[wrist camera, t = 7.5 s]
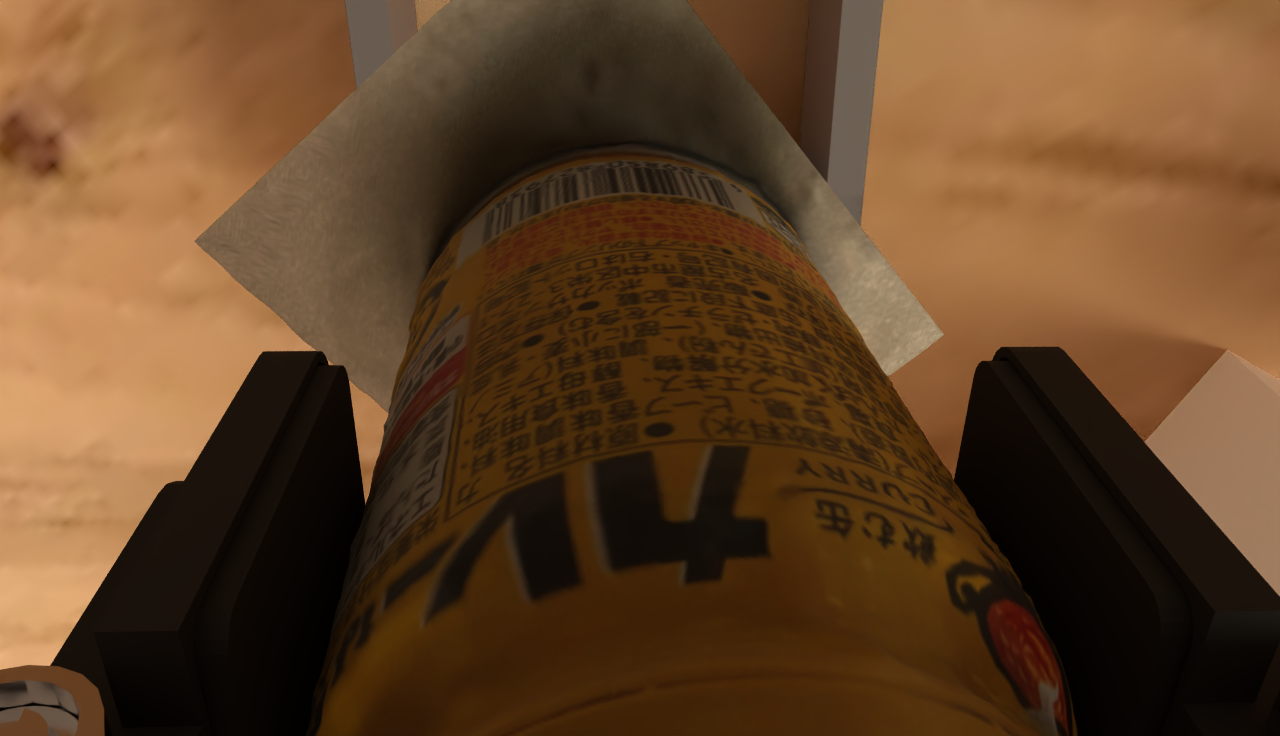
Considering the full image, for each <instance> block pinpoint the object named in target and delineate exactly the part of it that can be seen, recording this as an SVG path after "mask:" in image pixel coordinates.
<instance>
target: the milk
mask: <svg viewBox="0 0 1280 736" xmlns="http://www.w3.org/2000/svg"><path fill="white" fill-rule="evenodd" d="M1145 444H1146V445H1147V446H1148V447H1149V448H1150V449H1151V450H1152V452H1153V453H1154V454H1155V455H1156V456H1157V457H1158V458H1159V460H1160V461H1161V462H1162V463H1163V464H1164V465H1165V466H1166V467H1167V469H1168V470H1169V471H1170V472H1171V473H1172V474H1173V475H1174V477H1175V478H1176V479H1177V480H1178V481H1179V482H1180V483H1181V485H1182V486H1183V487H1184V488H1185V489H1186V490H1187V491H1188V493H1189V494H1190V495H1191V496H1192V497H1193V498H1194V499H1195V501H1196V502H1197V503H1198V504H1199V505H1200V506H1201V507H1202V508H1203V510H1204V511H1205V512H1206V513H1207V514H1208V515H1209V516H1210V518H1211V519H1212V520H1213V521H1214V522H1215V523H1216V524H1217V526H1218V527H1219V528H1220V529H1221V530H1222V531H1223V532H1224V534H1225V535H1226V536H1227V537H1228V538H1229V539H1230V540H1231V542H1232V543H1233V544H1234V545H1235V546H1236V547H1237V548H1238V549H1239V551H1240V552H1241V553H1242V554H1243V555H1244V556H1245V557H1246V559H1247V560H1248V561H1249V562H1250V563H1251V564H1252V565H1253V567H1254V568H1255V569H1256V570H1257V571H1258V572H1259V573H1260V575H1261V576H1262V577H1263V578H1264V579H1265V580H1266V581H1267V583H1268V584H1269V585H1270V586H1271V587H1272V588H1273V589H1274V590H1275V592H1276V593H1277V594H1278V595H1279V596H1280V379H1278V378H1276V377H1275V376H1273V375H1271V374H1269V373H1268V372H1266V371H1264V370H1262V369H1261V368H1259V367H1257V366H1255V365H1254V364H1252V363H1250V362H1248V361H1247V360H1245V359H1243V358H1241V357H1240V356H1238V355H1236V354H1234V353H1233V352H1231V351H1229V350H1226V351H1225V353H1224V354H1223V355H1222V356H1221V357H1220V358H1219V359H1218V360H1217V361H1216V363H1215V364H1214V365H1213V366H1212V367H1211V368H1210V369H1209V370H1208V371H1207V373H1206V374H1205V375H1204V376H1203V377H1202V378H1201V379H1200V380H1199V382H1198V383H1197V384H1196V385H1195V386H1194V387H1193V388H1192V389H1191V390H1190V392H1189V393H1188V394H1187V395H1186V396H1185V397H1184V398H1183V399H1182V401H1181V402H1180V403H1179V404H1178V405H1177V406H1176V407H1175V408H1174V409H1173V411H1172V412H1171V413H1170V414H1169V415H1168V416H1167V417H1166V418H1165V419H1164V421H1163V422H1162V423H1161V424H1160V425H1159V426H1158V427H1157V428H1156V430H1155V431H1154V432H1153V433H1152V434H1151V435H1150V436H1149V437H1148V438H1147V440H1146V441H1145Z"/></svg>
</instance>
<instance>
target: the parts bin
mask: <svg viewBox="0 0 1280 736" xmlns="http://www.w3.org/2000/svg"><path fill="white" fill-rule="evenodd" d="M345 5H346V12H347V20H348V28H349V35H350V43H351V51H352V58H353V66H354V73H355V81H356V89H357V88H358V87H359V86H360V85H361V84H362V83H363V82H364V81H365V80H366V79H367V78H368V77H369V76H371V75H372V74H373V73H374V72H375V71H376V70H377V69H378V68H379V67H380V66H381V65H382V64H383V63H384V62H385V61H387V60H388V59H389V58H390V57H391V56H392V55H393V54H394V53H395V52H396V51H397V50H398V49H399V48H400V47H401V46H402V45H404V44H405V43H406V42H407V41H408V40H409V39H410V38H412V37H413V36H414V35H415V34H416V33H417V32H418V31H417V21H416V11H415V2H414V0H345ZM882 8H883V0H810V7H809V21H808V35H807V49H806V64H805V78H804V92H803V106H802V121H801V135H800V149H801V150H802V151H803V153H804V154H805V155H806V157H807V158H808V159H809V160H810V162H811V163H812V164H813V166H814V167H815V168H816V169H817V171H818V172H819V173H820V175H821V176H822V177H823V179H824V180H825V181H826V182H827V184H828V185H829V186H830V187H831V189H832V190H833V191H834V193H835V194H836V195H837V197H838V198H839V199H840V201H841V202H842V203H843V205H844V206H845V207H846V208H847V210H848V211H849V212H850V214H851V215H852V216H853V217H854V219H855V220H856V221H857V223H858V224H859V225H860V223H861V214H862V204H863V194H864V184H865V174H866V165H867V155H868V145H869V135H870V125H871V116H872V106H873V96H874V86H875V76H876V67H877V57H878V47H879V37H880V27H881V18H882Z"/></svg>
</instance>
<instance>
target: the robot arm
mask: <svg viewBox="0 0 1280 736" xmlns="http://www.w3.org/2000/svg"><path fill="white" fill-rule="evenodd" d="M954 482H955V484H956V485H957V486H958V487H959V489H960V490H961V492H962V493H963V494H964V495H965V497H966V498H967V501H968V503H969V504H970V505H971V506H972V507H973V509H974V510H975V513H976V515H977V517H978V519H979V520H980V521H981V522H982V523H983V525H984V526H985V527H986V530H987V531H988V533H989V534H990V537H991V540H992V541H993V542H994V543H995V544H997V545H998V548H999V551H1000V552H1001V553H1002V554H1003V555H1004V556H1005V557H1006V558H1007V559H1008V561H1009V563H1010V565H1011V567H1012V569H1013V571H1014V572H1015V574H1016V575H1017V577H1018V578H1019V580H1020V581H1021V585H1022V589H1023V590H1024V591H1025V592H1026V593H1027V594H1028V595H1029V596H1030V597H1031V599H1032V602H1033V604H1034V607H1035V609H1036V611H1037V613H1038V615H1039V617H1040V620H1041V622H1042V625H1043V627H1044V629H1045V631H1046V632H1047V634H1048V635H1049V637H1050V639H1051V640H1052V642H1053V644H1054V645H1055V648H1056V650H1057V652H1058V654H1059V656H1060V659H1061V661H1062V664H1063V667H1064V671H1065V674H1066V678H1067V681H1068V684H1069V689H1070V694H1071V699H1072V704H1073V712H1074V717H1075V722H1076V727H1077V736H1280V596H1279V595H1278V594H1277V593H1276V592H1275V590H1274V589H1273V588H1272V587H1271V586H1270V585H1269V584H1268V583H1267V581H1266V580H1265V579H1264V578H1263V577H1262V576H1261V575H1260V573H1259V572H1258V571H1257V570H1256V569H1255V568H1254V567H1253V565H1252V564H1251V563H1250V562H1249V561H1248V560H1247V559H1246V557H1245V556H1244V555H1243V554H1242V553H1241V552H1240V551H1239V549H1238V548H1237V547H1236V546H1235V545H1234V544H1233V543H1232V542H1231V540H1230V539H1229V538H1228V537H1227V536H1226V535H1225V534H1224V532H1223V531H1222V530H1221V529H1220V528H1219V527H1218V526H1217V524H1216V523H1215V522H1214V521H1213V520H1212V519H1211V518H1210V516H1209V515H1208V514H1207V513H1206V512H1205V511H1204V510H1203V508H1202V507H1201V506H1200V505H1199V504H1198V503H1197V502H1196V501H1195V499H1194V498H1193V497H1192V496H1191V495H1190V494H1189V493H1188V491H1187V490H1186V489H1185V488H1184V487H1183V486H1182V485H1181V483H1180V482H1179V481H1178V480H1177V479H1176V478H1175V477H1174V475H1173V474H1172V473H1171V472H1170V471H1169V470H1168V469H1167V467H1166V466H1165V465H1164V464H1163V463H1162V462H1161V461H1160V460H1159V458H1158V457H1157V456H1156V455H1155V454H1154V453H1153V452H1152V450H1151V449H1150V448H1149V447H1148V446H1147V445H1146V444H1145V442H1144V441H1143V440H1142V439H1141V438H1140V437H1139V436H1138V434H1137V433H1136V432H1135V431H1134V430H1133V429H1132V428H1131V426H1130V425H1129V424H1128V423H1127V422H1126V421H1125V420H1124V419H1123V417H1122V416H1121V415H1120V414H1119V413H1118V412H1117V411H1116V409H1115V408H1114V407H1113V406H1112V405H1111V404H1110V403H1109V401H1108V400H1107V399H1106V398H1105V397H1104V396H1103V395H1102V393H1101V392H1100V391H1099V390H1098V389H1097V388H1096V387H1095V385H1094V384H1093V383H1092V382H1091V381H1090V380H1089V379H1088V378H1087V376H1086V375H1085V374H1084V373H1083V372H1082V371H1081V370H1080V368H1079V367H1078V366H1077V365H1076V364H1075V363H1074V362H1073V360H1072V359H1071V358H1070V357H1069V356H1068V355H1067V354H1066V352H1065V351H1064V350H1062V349H1061V348H1059V347H1001V348H1000V349H999V350H997V352H996V353H995V355H994V357H993V360H992V361H982V362H980V363H979V364H978V366H977V368H976V370H975V374H974V378H973V383H972V389H971V394H970V399H969V404H968V410H967V415H966V420H965V425H964V431H963V436H962V441H961V446H960V452H959V457H958V462H957V467H956V473H955V478H954ZM364 509H365V498H364V491H363V483H362V476H361V468H360V461H359V453H358V446H357V438H356V431H355V423H354V416H353V408H352V400H351V393H350V385H349V379H348V374H347V371H346V368H345V367H344V366H343V365H329V364H328V361H327V358H326V356H325V354H324V353H323V352H322V351H267V352H262V354H261V355H260V356H259V357H258V359H257V361H256V362H255V364H254V366H253V367H252V369H251V371H250V372H249V374H248V376H247V377H246V379H245V381H244V382H243V384H242V386H241V387H240V389H239V391H238V392H237V394H236V396H235V397H234V399H233V400H232V402H231V404H230V405H229V407H228V409H227V410H226V412H225V414H224V415H223V417H222V419H221V420H220V422H219V424H218V425H217V427H216V429H215V430H214V432H213V434H212V435H211V437H210V439H209V440H208V442H207V444H206V445H205V447H204V449H203V450H202V452H201V454H200V455H199V457H198V459H197V460H196V462H195V464H194V465H193V467H192V469H191V470H190V472H189V474H188V475H187V477H186V479H185V480H184V481H174V482H171V483H168V484H166V485H165V486H164V488H163V489H162V490H161V491H160V492H159V493H158V495H157V496H156V498H155V500H154V501H153V503H152V504H151V506H150V508H149V509H148V511H147V512H146V514H145V516H144V517H143V519H142V520H141V522H140V523H139V525H138V527H137V528H136V530H135V531H134V533H133V535H132V536H131V538H130V539H129V541H128V543H127V544H126V546H125V547H124V549H123V551H122V552H121V554H120V555H119V557H118V559H117V560H116V562H115V563H114V565H113V567H112V568H111V570H110V571H109V573H108V574H107V576H106V578H105V579H104V581H103V582H102V584H101V586H100V587H99V589H98V590H97V592H96V594H95V595H94V597H93V598H92V600H91V602H90V603H89V605H88V606H87V608H86V610H85V611H84V613H83V614H82V616H81V618H80V619H79V621H78V622H77V624H76V626H75V627H74V629H73V630H72V632H71V633H70V635H69V637H68V638H67V640H66V641H65V643H64V645H63V646H62V648H61V649H60V651H59V653H58V654H57V656H56V657H55V659H54V661H53V662H52V664H51V665H50V666H37V665H26V666H20V667H14V668H8V669H2V670H0V736H306V733H307V730H308V727H309V723H310V718H311V710H312V700H313V693H314V690H315V687H316V685H317V682H318V679H319V677H320V675H321V670H322V667H323V663H324V660H325V656H326V652H327V649H328V645H329V642H330V634H331V628H332V624H333V620H334V616H335V612H336V609H337V605H338V602H339V600H340V597H341V592H342V587H343V582H344V578H345V574H346V571H347V567H348V564H349V557H350V546H351V544H352V542H353V540H354V538H355V536H356V533H357V531H358V529H359V527H360V524H361V521H362V517H363V512H364Z"/></svg>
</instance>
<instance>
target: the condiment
mask: <svg viewBox="0 0 1280 736" xmlns="http://www.w3.org/2000/svg"><path fill="white" fill-rule="evenodd" d="M195 242H196V243H197V244H198V245H199V246H200V247H201V248H202V249H203V250H204V251H205V252H206V253H208V254H209V255H210V256H211V257H212V258H213V259H215V260H216V261H217V262H218V263H219V264H220V265H221V266H223V267H224V268H225V270H226V271H227V272H228V273H229V274H230V275H231V276H232V277H233V278H234V279H235V280H236V281H238V282H239V283H240V284H241V285H242V286H243V287H244V288H246V289H247V290H248V291H249V292H250V293H252V294H253V295H254V296H255V297H257V298H258V299H259V300H260V301H262V302H263V303H264V304H266V305H267V306H268V307H270V308H271V309H272V310H273V311H274V312H275V313H276V314H277V315H278V316H279V317H281V318H282V319H283V320H284V321H285V322H286V323H287V325H288V326H289V327H290V328H291V329H292V330H293V331H294V332H295V333H296V334H297V335H298V336H299V337H300V338H301V339H303V340H304V341H305V342H306V343H307V344H309V345H310V346H311V347H313V348H314V349H316V350H317V351H322V352H323V353H324V354H325V356H326V358H327V359H328V360H329V361H330V362H332V363H333V364H334V365H343V366H344V367H345V368H346V371H347V374H348V379H349V380H350V381H351V382H352V383H353V384H354V385H355V386H357V387H358V388H359V389H360V390H361V391H363V392H364V393H366V394H368V395H369V396H370V397H371V398H372V399H374V400H375V401H376V402H377V403H378V404H379V405H380V406H381V407H382V408H383V409H384V410H385V411H387V412H388V413H389V415H388V418H387V420H386V422H385V425H384V436H383V441H382V445H381V449H380V454H379V457H378V459H377V461H376V465H375V468H374V471H373V477H372V483H371V489H370V493H369V497H368V499H367V502H366V505H365V509H364V512H363V517H362V521H361V524H360V527H359V529H358V531H357V533H356V536H355V538H354V540H353V542H352V544H351V546H350V557H349V564H348V567H347V571H346V574H345V578H344V582H343V587H342V592H341V597H340V600H339V602H338V605H337V609H336V612H335V616H334V620H333V624H332V628H331V634H330V642H329V645H328V649H327V652H326V656H325V660H324V663H323V667H322V670H321V675H320V677H319V679H318V682H317V685H316V687H315V690H314V693H313V700H312V710H311V718H310V723H309V727H308V730H307V733H306V736H1077V727H1076V722H1075V717H1074V712H1073V704H1072V699H1071V694H1070V689H1069V684H1068V681H1067V678H1066V674H1065V671H1064V667H1063V664H1062V661H1061V659H1060V656H1059V654H1058V652H1057V650H1056V648H1055V645H1054V644H1053V642H1052V640H1051V639H1050V637H1049V635H1048V634H1047V632H1046V631H1045V629H1044V627H1043V625H1042V622H1041V620H1040V617H1039V615H1038V613H1037V611H1036V609H1035V607H1034V604H1033V602H1032V599H1031V597H1030V596H1029V595H1028V594H1027V593H1026V592H1025V591H1024V590H1023V589H1022V585H1021V581H1020V580H1019V578H1018V577H1017V575H1016V574H1015V572H1014V571H1013V569H1012V567H1011V565H1010V563H1009V561H1008V559H1007V558H1006V557H1005V556H1004V555H1003V554H1002V553H1001V552H1000V551H999V548H998V545H997V544H995V543H994V542H993V541H992V540H991V537H990V534H989V533H988V531H987V530H986V527H985V526H984V525H983V523H982V522H981V521H980V520H979V519H978V517H977V515H976V513H975V510H974V509H973V507H972V506H971V505H970V504H969V503H968V501H967V498H966V497H965V495H964V494H963V493H962V492H961V490H960V489H959V487H958V486H957V485H956V484H955V482H954V480H953V478H952V475H951V473H950V472H949V471H948V469H947V468H946V467H945V466H944V465H943V464H942V462H941V460H940V459H939V457H938V455H937V454H936V453H935V451H934V450H933V448H932V447H931V446H930V444H929V442H928V440H927V439H926V437H925V435H924V433H923V432H922V430H921V429H920V427H919V426H918V425H917V423H916V422H915V420H914V419H913V418H912V416H911V414H910V412H909V410H908V409H907V407H906V406H905V405H904V403H903V402H902V400H901V398H900V397H899V395H898V393H897V392H896V390H895V389H894V387H893V384H892V382H891V381H890V380H889V377H888V376H889V375H891V374H892V373H894V372H895V371H897V370H898V369H899V368H901V367H902V366H904V365H905V364H906V363H908V362H909V361H910V360H912V359H913V358H915V357H916V356H917V355H919V354H920V353H921V352H923V351H924V350H925V349H927V348H928V347H929V346H930V345H932V344H933V343H934V342H936V341H937V340H938V339H939V338H941V337H942V336H943V335H944V334H943V333H942V331H941V330H940V329H939V328H938V326H937V325H936V324H935V322H934V321H933V320H932V318H931V317H930V316H929V315H928V313H927V312H926V311H925V309H924V308H923V307H922V305H921V304H920V303H919V302H918V300H917V299H916V298H915V296H914V295H913V294H912V293H911V291H910V290H909V289H908V287H907V286H906V285H905V283H904V282H903V281H902V280H901V278H900V277H899V276H898V274H897V273H896V272H895V271H894V269H893V268H892V267H891V265H890V264H889V263H888V262H887V260H886V259H885V258H884V256H883V255H882V254H881V252H880V251H879V250H878V249H877V247H876V246H875V245H874V243H873V242H872V241H871V239H870V238H869V237H868V236H867V235H866V233H865V232H864V231H863V229H862V228H861V226H860V225H859V224H858V223H857V221H856V220H855V219H854V217H853V216H852V215H851V214H850V212H849V211H848V210H847V208H846V207H845V206H844V205H843V203H842V202H841V201H840V199H839V198H838V197H837V195H836V194H835V193H834V191H833V190H832V189H831V187H830V186H829V185H828V184H827V182H826V181H825V180H824V179H823V177H822V176H821V175H820V173H819V172H818V171H817V169H816V168H815V167H814V166H813V164H812V163H811V162H810V160H809V159H808V158H807V157H806V155H805V154H804V153H803V151H802V150H801V149H800V147H799V146H798V145H797V143H796V142H795V141H794V140H793V138H792V137H791V136H790V134H789V133H788V132H787V130H786V129H785V127H784V125H783V124H782V123H781V122H780V121H779V120H778V119H777V118H776V116H775V115H774V114H773V112H772V111H771V110H770V108H769V107H768V106H767V104H766V103H765V102H764V100H763V99H762V98H761V97H760V95H759V94H758V93H757V91H756V90H755V89H754V87H753V86H752V85H751V84H750V82H749V81H748V80H747V79H746V78H745V77H744V76H743V74H742V73H741V71H740V70H739V68H738V67H737V66H736V64H735V63H734V62H733V60H732V59H731V58H730V57H729V55H728V54H727V53H726V51H725V50H724V49H723V47H722V46H721V45H720V43H719V42H718V41H717V39H716V38H715V36H714V35H713V34H712V33H711V31H710V30H709V29H708V28H707V27H706V25H705V24H704V23H703V22H702V20H701V19H700V18H699V16H698V15H697V14H696V12H695V11H694V10H693V8H692V7H691V5H690V4H689V2H688V1H687V0H451V1H450V2H449V3H448V4H446V5H445V6H444V7H443V8H442V9H440V10H439V11H438V12H437V13H436V14H435V15H434V16H433V17H432V18H431V19H430V20H429V21H428V22H427V23H426V24H425V25H424V26H423V27H422V28H421V29H420V30H419V31H418V32H417V33H416V34H415V35H414V36H413V37H412V38H410V39H409V40H408V41H407V42H406V43H405V44H404V45H402V46H401V47H400V48H399V49H398V50H397V51H396V52H395V53H394V54H393V55H392V56H391V57H390V58H389V59H388V60H387V61H385V62H384V63H383V64H382V65H381V66H380V67H379V68H378V69H377V70H376V71H375V72H374V73H373V74H372V75H371V76H369V77H368V78H367V79H366V80H365V81H364V82H363V83H362V84H361V85H360V86H359V87H358V88H357V89H355V90H354V91H353V92H352V93H351V94H350V95H349V96H347V97H346V98H345V99H344V100H343V101H342V102H341V103H340V104H339V105H338V106H337V107H336V108H335V109H334V110H333V111H332V112H331V113H330V114H329V115H328V116H327V117H326V118H325V119H324V120H323V121H322V122H321V123H320V124H318V125H317V126H316V127H315V128H314V129H313V130H312V131H311V132H310V134H309V135H308V136H307V137H305V138H304V139H302V140H301V141H300V142H299V143H298V144H297V145H296V146H295V147H294V148H293V149H292V150H291V151H290V152H289V153H288V154H287V155H285V156H284V157H283V158H282V159H281V160H280V161H279V162H278V163H277V164H276V165H275V166H274V167H272V168H271V169H270V170H269V171H268V172H267V173H266V174H265V175H264V176H263V177H262V178H261V179H260V180H259V181H258V182H257V183H256V184H255V185H254V186H253V187H252V188H251V189H249V190H248V191H247V192H246V193H245V194H244V195H243V196H242V197H241V198H240V199H239V200H238V201H237V202H235V203H234V204H233V205H232V206H231V207H230V208H229V209H228V210H227V211H226V212H225V213H224V214H223V215H222V216H221V217H220V218H218V219H217V220H216V221H215V222H214V223H213V224H212V225H211V226H210V227H209V228H208V229H207V230H206V231H205V232H204V233H202V234H201V235H200V236H199V237H198V238H197V239H196V240H195Z"/></svg>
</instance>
